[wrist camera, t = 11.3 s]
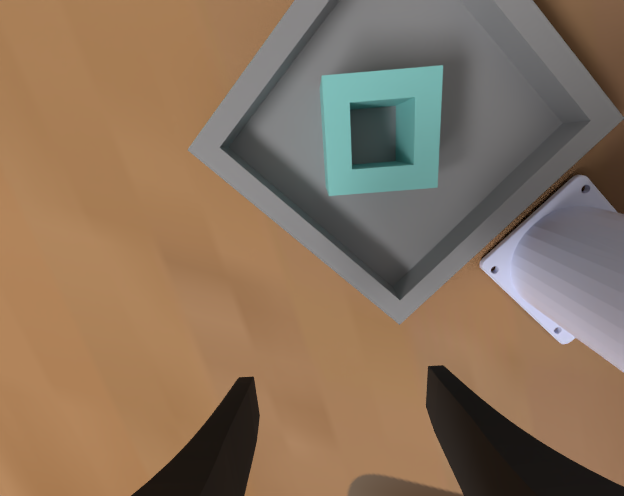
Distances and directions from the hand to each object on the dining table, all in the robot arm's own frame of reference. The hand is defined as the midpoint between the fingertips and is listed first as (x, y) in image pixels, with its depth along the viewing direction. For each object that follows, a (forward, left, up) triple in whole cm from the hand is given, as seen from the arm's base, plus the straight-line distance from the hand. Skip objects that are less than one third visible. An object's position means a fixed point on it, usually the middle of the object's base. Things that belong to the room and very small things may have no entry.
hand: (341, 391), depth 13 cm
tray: (+4, -10, -9) cm, 14 cm away
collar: (+5, -9, -9) cm, 14 cm away
